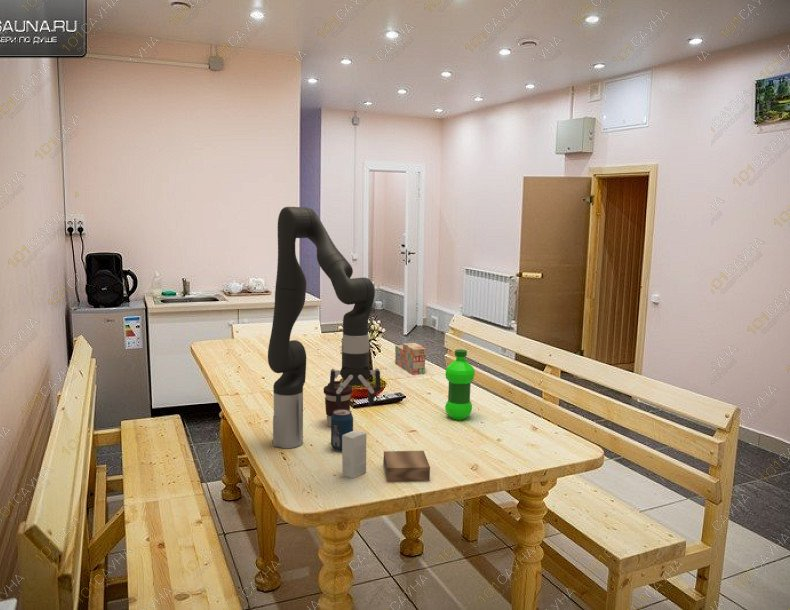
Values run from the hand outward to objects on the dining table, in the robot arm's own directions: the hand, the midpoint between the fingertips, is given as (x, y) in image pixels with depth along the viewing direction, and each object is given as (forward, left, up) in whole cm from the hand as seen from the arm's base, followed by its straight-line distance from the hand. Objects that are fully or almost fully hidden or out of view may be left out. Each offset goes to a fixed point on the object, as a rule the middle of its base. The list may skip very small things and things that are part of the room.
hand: (354, 405), depth 178 cm
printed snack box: (+31, +114, -21) cm, 120 cm away
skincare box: (0, 0, -21) cm, 21 cm away
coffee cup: (-4, +40, -21) cm, 45 cm away
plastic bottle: (+40, +46, -20) cm, 64 cm away
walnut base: (+15, 0, -20) cm, 25 cm away
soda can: (-3, +19, -20) cm, 28 cm away
